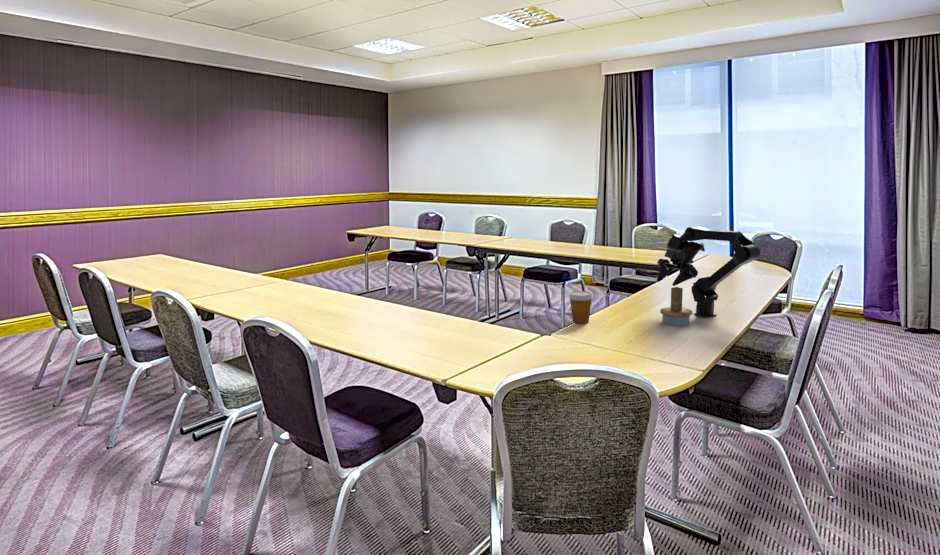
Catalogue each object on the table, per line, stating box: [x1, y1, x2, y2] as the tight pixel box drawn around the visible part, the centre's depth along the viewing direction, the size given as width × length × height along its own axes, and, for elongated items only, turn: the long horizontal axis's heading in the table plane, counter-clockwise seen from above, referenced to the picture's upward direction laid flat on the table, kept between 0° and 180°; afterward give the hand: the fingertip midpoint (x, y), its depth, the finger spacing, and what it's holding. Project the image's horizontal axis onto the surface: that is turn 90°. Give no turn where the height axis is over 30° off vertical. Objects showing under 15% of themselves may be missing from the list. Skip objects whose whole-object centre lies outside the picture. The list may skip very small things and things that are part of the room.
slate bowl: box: [661, 314, 691, 327], centre depth 237 cm, size 10×10×4 cm
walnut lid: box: [659, 286, 693, 316], centre depth 236 cm, size 12×12×10 cm
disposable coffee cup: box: [568, 290, 594, 325], centre depth 242 cm, size 10×10×12 cm
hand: (665, 283), depth 247 cm, fingers open, 9 cm apart
